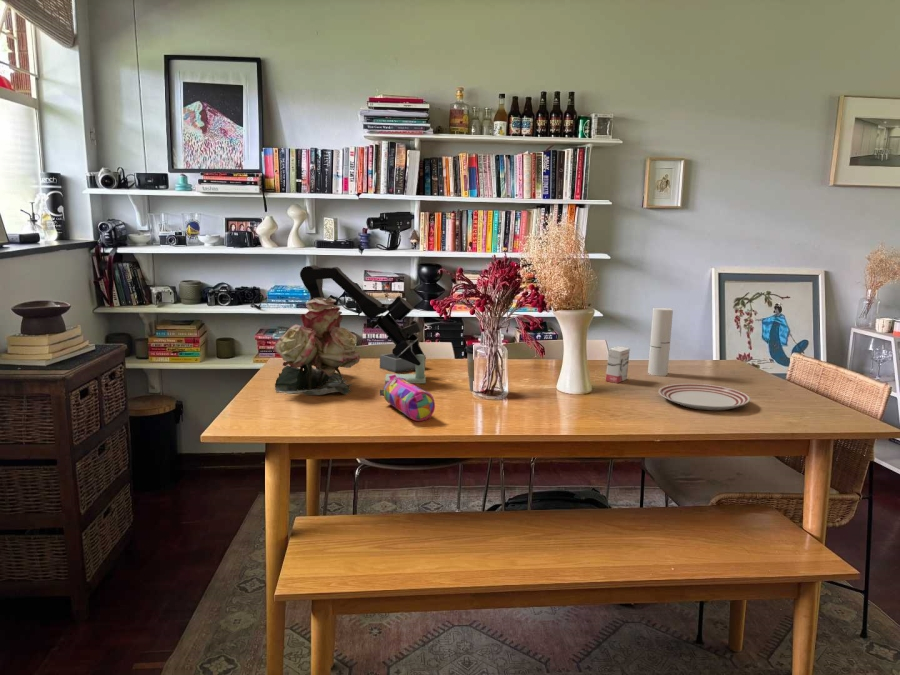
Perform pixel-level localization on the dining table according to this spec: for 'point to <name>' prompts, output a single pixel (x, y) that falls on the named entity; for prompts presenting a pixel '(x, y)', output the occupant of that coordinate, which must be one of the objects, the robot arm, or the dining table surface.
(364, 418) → the dining table surface
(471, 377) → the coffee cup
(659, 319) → the cylindrical container
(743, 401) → the dinner plate
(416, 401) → the pencil case
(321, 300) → the rose bouquet
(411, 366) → the parts tub
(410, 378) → the pale green stand
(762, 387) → the dining table surface
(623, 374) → the ink box
